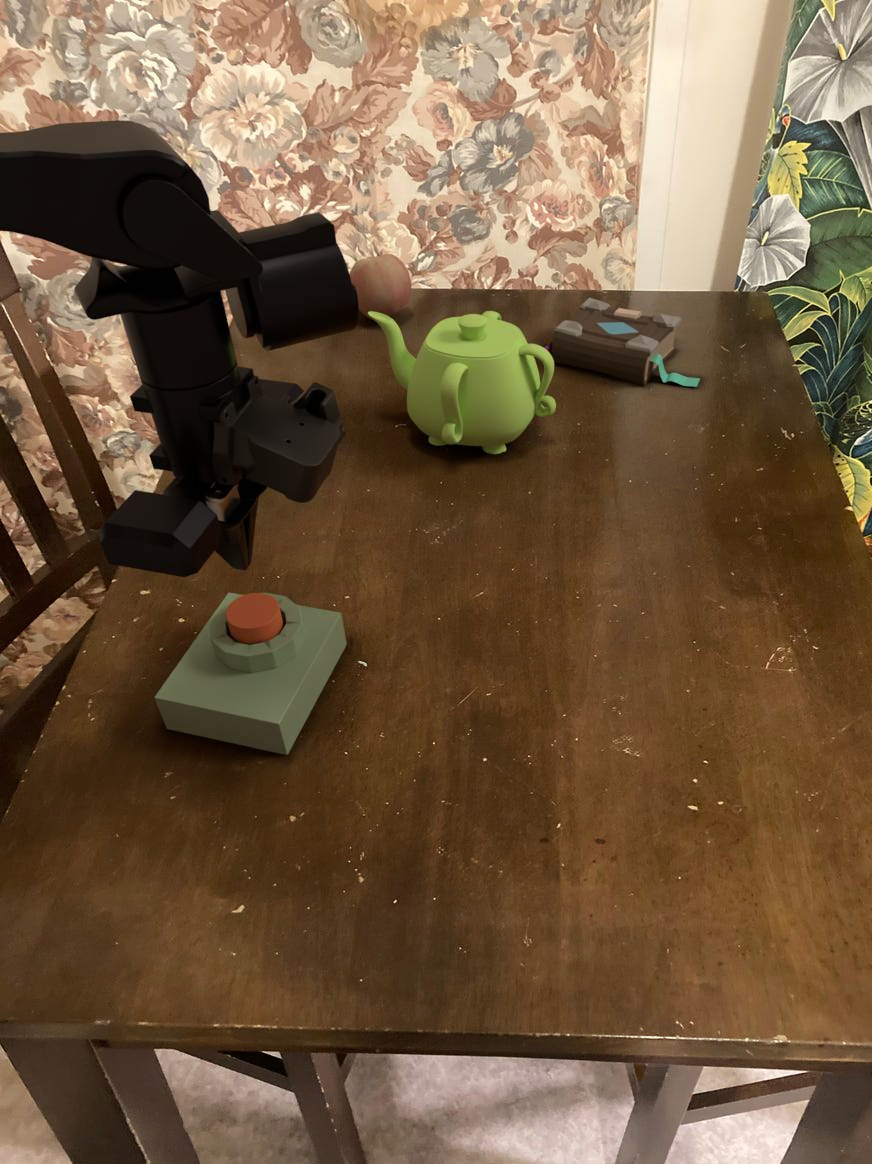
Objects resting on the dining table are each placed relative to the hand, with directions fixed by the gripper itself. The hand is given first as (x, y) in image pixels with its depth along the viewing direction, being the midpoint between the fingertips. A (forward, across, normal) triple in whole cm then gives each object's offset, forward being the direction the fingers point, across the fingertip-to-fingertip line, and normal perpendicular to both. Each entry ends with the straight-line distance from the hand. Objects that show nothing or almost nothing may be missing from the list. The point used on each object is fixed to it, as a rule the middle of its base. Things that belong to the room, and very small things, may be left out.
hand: (242, 566), depth 64 cm
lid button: (+6, 0, 0) cm, 6 cm away
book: (+12, +59, -20) cm, 64 cm away
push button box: (+11, -2, 0) cm, 11 cm away
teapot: (+11, +39, -5) cm, 41 cm away
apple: (+11, +63, +13) cm, 65 cm away
